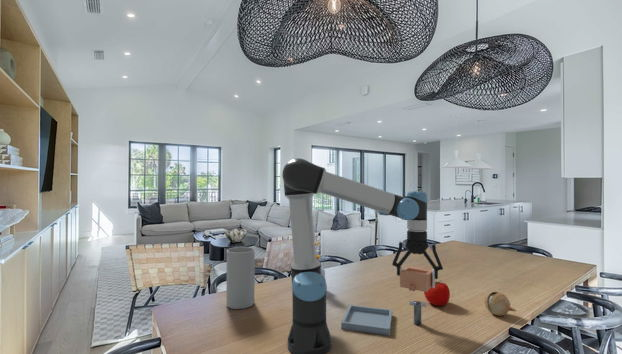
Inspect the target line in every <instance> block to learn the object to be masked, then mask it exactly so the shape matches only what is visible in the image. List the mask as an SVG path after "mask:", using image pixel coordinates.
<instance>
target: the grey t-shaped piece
mask: <svg viewBox="0 0 622 354" xmlns="http://www.w3.org/2000/svg"><path fill="white" fill-rule="evenodd" d="M409 306H412V307H413V324H414V325H416V326H422V307H423V308H426V306H427V304H426V302H425V301H424V302H423V301H420V300H409Z"/></svg>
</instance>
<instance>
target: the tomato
mask: <svg viewBox="0 0 622 354" xmlns="http://www.w3.org/2000/svg"><path fill="white" fill-rule="evenodd" d="M442 281H443V280H442V279H441V280H440V281H435V288H432V287H431V288H430V289H429V290H428V291H427V292H423V294H424V297H425V299H426V300H427V302H429V304H432V305H433V306H437V307H440V306H445V305H447V304H448V303H449V301H450V297H451V295H450V294H451V293H450V291H451V290H450V288H449V286H448V285H447V284H446V283H444V282H442Z"/></svg>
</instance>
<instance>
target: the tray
mask: <svg viewBox="0 0 622 354" xmlns="http://www.w3.org/2000/svg"><path fill="white" fill-rule="evenodd" d="M392 320H393V309H389V308H381V307H380V308H379V307H373V306H364V305H355V304H354V305H353V304H349V305H348V308H347V309H346V312H345V314H344V316H343V318H342V320H341V322H340V325H341V327H340V329H341V330H345V331H346V330H348V331H354V332H361V333H367V334H368V333H370V334H376V335H384V336H391V331H392V330H391V329H392Z"/></svg>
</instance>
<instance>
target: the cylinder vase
mask: <svg viewBox="0 0 622 354" xmlns="http://www.w3.org/2000/svg"><path fill="white" fill-rule="evenodd" d="M225 303H226V306H227V308H229V309H233V310H245V309H247V308H250V307H252V306H253V305H254V303H255V248H254V247H251V246H250V247H249V246H235V247H231V248H227V249H226V302H225Z"/></svg>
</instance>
